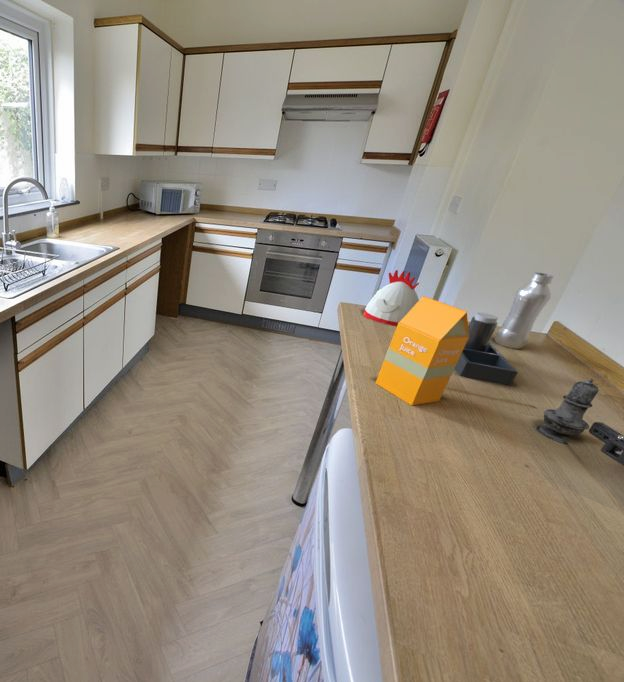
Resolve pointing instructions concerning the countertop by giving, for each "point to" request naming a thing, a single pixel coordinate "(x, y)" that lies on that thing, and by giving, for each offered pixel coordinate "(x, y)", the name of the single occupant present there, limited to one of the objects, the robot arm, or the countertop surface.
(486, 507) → the countertop surface
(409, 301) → the kitchen timer
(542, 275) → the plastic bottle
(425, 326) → the orange juice
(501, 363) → the dark grey tray
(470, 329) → the pepper shaker
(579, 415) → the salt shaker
